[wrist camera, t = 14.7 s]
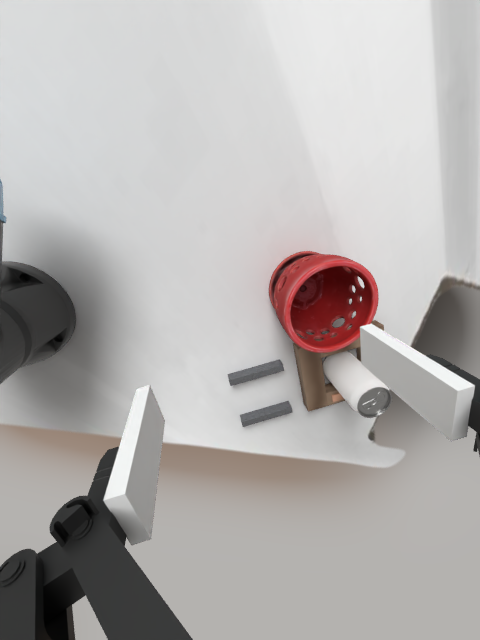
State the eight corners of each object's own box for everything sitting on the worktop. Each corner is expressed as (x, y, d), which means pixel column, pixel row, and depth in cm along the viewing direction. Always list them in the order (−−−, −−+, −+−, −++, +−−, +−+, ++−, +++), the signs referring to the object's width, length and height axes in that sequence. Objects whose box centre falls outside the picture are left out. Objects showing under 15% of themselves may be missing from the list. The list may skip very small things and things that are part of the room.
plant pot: (246, 290, 45) (263, 314, 34) (304, 230, 43) (342, 234, 31) (297, 337, 49) (326, 372, 38) (351, 284, 47) (399, 305, 36)
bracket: (241, 419, 54) (242, 426, 52) (227, 374, 50) (228, 380, 48) (289, 405, 54) (292, 412, 52) (279, 359, 50) (282, 364, 48)
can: (358, 365, 53) (400, 404, 42) (330, 383, 54) (365, 426, 43) (344, 342, 51) (385, 377, 40) (315, 361, 52) (348, 401, 40)
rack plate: (303, 403, 55) (309, 412, 52) (293, 343, 49) (298, 350, 47) (377, 381, 55) (386, 389, 53) (375, 320, 50) (384, 325, 48)
